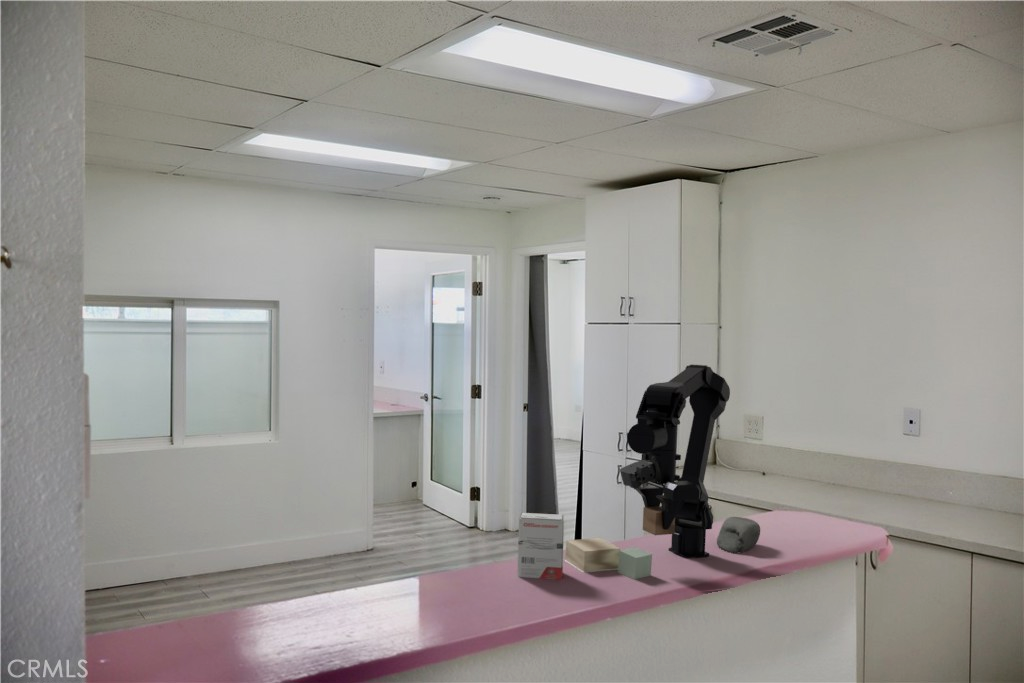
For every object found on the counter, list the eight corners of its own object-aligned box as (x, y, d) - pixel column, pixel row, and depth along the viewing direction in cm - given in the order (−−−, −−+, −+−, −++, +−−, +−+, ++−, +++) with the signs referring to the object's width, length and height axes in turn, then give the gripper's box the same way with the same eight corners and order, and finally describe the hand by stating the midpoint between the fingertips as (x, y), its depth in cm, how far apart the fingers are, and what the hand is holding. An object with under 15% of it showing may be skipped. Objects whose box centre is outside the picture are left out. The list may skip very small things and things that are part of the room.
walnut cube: (661, 528, 159) (662, 506, 159) (674, 533, 154) (675, 511, 154) (642, 529, 157) (643, 507, 157) (655, 535, 153) (656, 512, 153)
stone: (704, 545, 177) (719, 504, 180) (726, 558, 182) (741, 518, 184) (736, 555, 170) (751, 512, 172) (758, 569, 174) (773, 527, 177)
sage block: (633, 569, 156) (635, 547, 156) (650, 576, 152) (652, 554, 152) (617, 572, 153) (619, 550, 153) (634, 580, 150) (636, 557, 149)
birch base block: (599, 556, 163) (600, 537, 163) (619, 568, 156) (620, 548, 156) (565, 559, 160) (566, 540, 160) (583, 571, 153) (584, 551, 153)
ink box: (562, 573, 152) (565, 513, 152) (561, 581, 147) (564, 519, 147) (518, 570, 153) (521, 511, 153) (516, 578, 148) (518, 516, 148)
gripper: (603, 442, 161) (600, 517, 161) (653, 457, 144) (650, 541, 144) (649, 441, 165) (646, 514, 165) (703, 455, 148) (700, 537, 148)
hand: (658, 526), depth 156 cm, fingers closed on walnut cube, 4 cm apart
